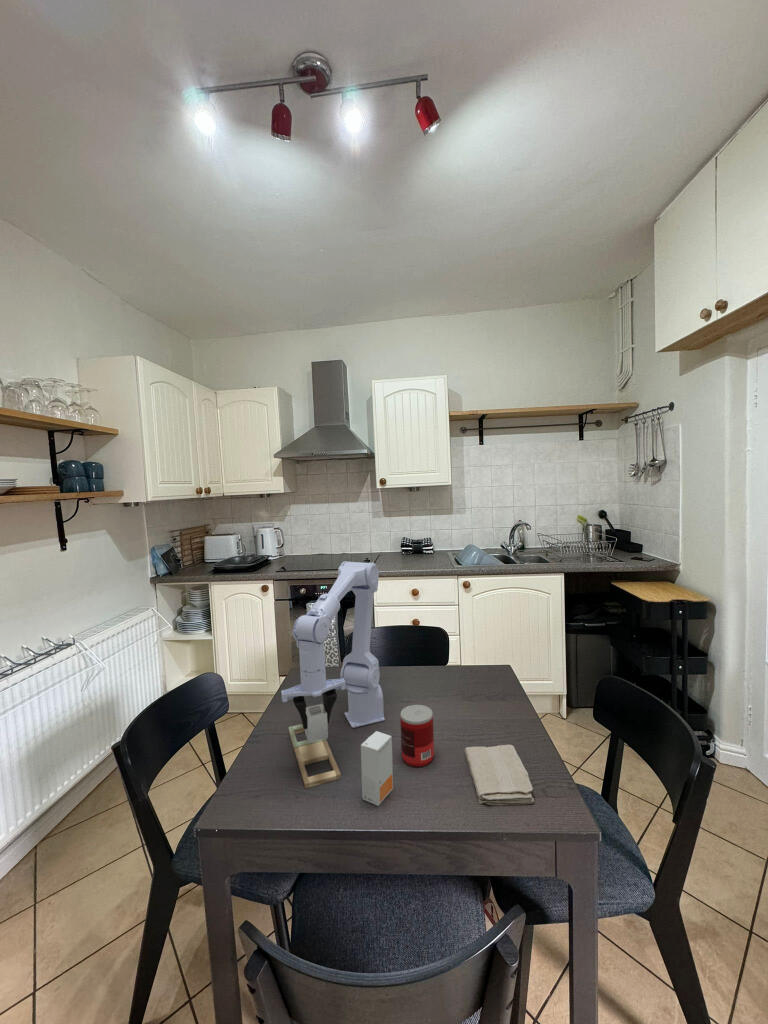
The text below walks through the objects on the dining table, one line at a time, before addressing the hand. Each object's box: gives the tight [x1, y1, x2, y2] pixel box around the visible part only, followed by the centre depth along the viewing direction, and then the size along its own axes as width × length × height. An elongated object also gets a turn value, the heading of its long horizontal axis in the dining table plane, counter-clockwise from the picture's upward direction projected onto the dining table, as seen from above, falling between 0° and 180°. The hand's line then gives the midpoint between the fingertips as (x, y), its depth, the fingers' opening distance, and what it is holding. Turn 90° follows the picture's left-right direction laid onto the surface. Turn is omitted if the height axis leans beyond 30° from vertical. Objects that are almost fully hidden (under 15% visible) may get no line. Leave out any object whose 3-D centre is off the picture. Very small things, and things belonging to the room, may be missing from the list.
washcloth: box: [463, 744, 535, 806], centre depth 97 cm, size 12×18×3 cm, turn 1°
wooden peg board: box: [288, 723, 342, 789], centre depth 107 cm, size 8×24×1 cm, turn 21°
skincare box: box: [360, 730, 394, 807], centre depth 92 cm, size 6×4×12 cm
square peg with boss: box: [304, 703, 329, 743], centre depth 101 cm, size 4×4×6 cm
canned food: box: [399, 704, 435, 768], centre depth 104 cm, size 8×8×11 cm
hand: (315, 724), depth 101 cm, fingers closed on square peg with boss, 4 cm apart
